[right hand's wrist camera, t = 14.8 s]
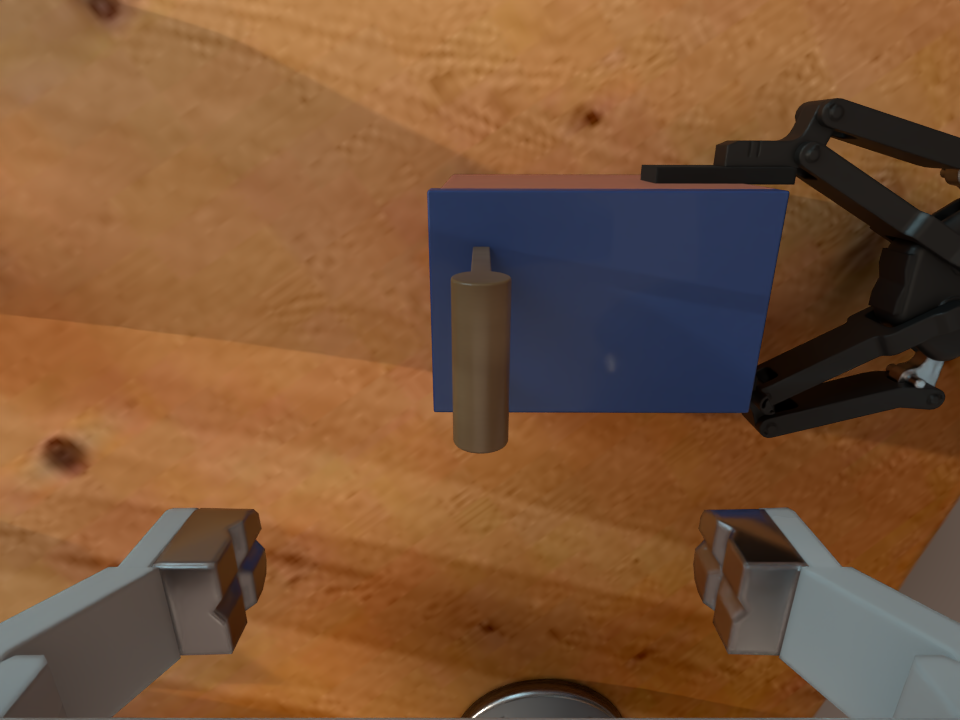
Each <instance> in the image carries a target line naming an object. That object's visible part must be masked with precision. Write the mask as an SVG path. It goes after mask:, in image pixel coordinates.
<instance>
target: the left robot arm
mask: <svg viewBox="0 0 960 720" xmlns="http://www.w3.org/2000/svg"><path fill="white" fill-rule="evenodd" d="M795 121H796V123H795V125H794V126H793V128H792V130H791V132H790V133H789V134H788V135H787V136H786V137H785V138H783V139H781V140H778V141H725V142H723V143H720V144H718V145H716V151H715V158H714V165H642V169H641V179H640V180H643V181H647V182H651V183H655V184H794V183H795V178H796V177H798V178H799V179H801V180H802V181H804V182H805V183H807V184H808V185H810V186H811V187H813V188H814V189H816V190H817V191H819V192H820V193H822V194H823V195H825V196H826V197H828V198H829V199H831V200H832V201H834V202H835V203H837V204H838V205H840V206H841V207H843V208H844V209H846V210H847V211H849V212H850V213H852V214H853V215H855V216H856V217H858V218H859V219H861V220H862V221H864V222H865V223H867V224H868V225H869V226H870V229H872V230H873V231H874V232H876V233H877V234H879V235H880V236H882V237H883V238H885V239H886V240H888V241H889V242H891V244H890V245H889V247H888V248H883V249H882V253H881V257H880V261H879V278H878V280H877V282H876V284H875V286H874V288H873V290H872V293H871V297H870V301H869V305H870V307H868V308H866V309H864V310H862V311H860V312H858V313H856V314H854V315H852V316H850V317H849V318H848V319H847V323H845V324H844V325H841V326H839V327H837V328H835V329H833V330H831V331H829V332H827V333H825V334H823V335H821V336H818V337H816V338H814V339H812V340H810V341H808V342H806V343H804V344H802V345H800V346H797V347H795V348H793V349H791V350H789V351H787V352H785V353H783V354H781V355H779V356H777V357H774V358H772V359H770V360H768V361H766V362H764V363H762V364H760V365H758V366H757V369H756V375H755V380H754V385H753V391H752V396H751V401H750V407H749V412H748V413H742V415H743V416H744V417H745V418H746V419H747V420H748V421H749V422H750V423H751V424H752V425H753V426H754V427H755V428H756V430H757V431H758V432H759V433H760V434H761V435H762V436H764V437H767V438H772V437H776V436H780V435H785V434H789V433H793V432H797V431H802V430H806V429H810V428H814V427H819V426H823V425H827V424H831V423H836V422H840V421H844V420H848V419H853V418H857V417H861V416H865V415H870V414H874V413H878V412H882V411H886V410H891V409H895V408H899V407H901V408H915V409H929V410H930V409H935V408H938V407H939V406H940V405H942V403H943V402H944V400H945V394H944V392H943V391H942V390H940V389H938V388H936V387H935V384H936V382H937V379H938V377H939V374H940V371H941V369H942V366H943V364H944V361H948V360H952V359H955V358H957V357H959V356H960V198H959V199H956V200H954V201H953V202H951V203H950V204H948V205H946V206H945V207H943V208H941V209H940V210H938V211H937V212H935V213H933V214H932V215H930V214H927V213H925V212H922V211H920V210H918V209H917V208H915V207H914V206H912V205H911V204H909V203H908V202H906V201H905V200H904V199H902V198H901V197H899V196H898V195H896V194H895V193H893V192H892V191H891V190H889V189H888V188H886V187H885V186H883V185H882V184H880V183H879V182H877V181H876V180H875V179H873V178H872V177H870V176H869V175H867V174H866V173H864V172H863V171H862V170H860V169H859V168H857V167H856V166H854V165H853V164H851V163H850V162H848V161H847V160H846V159H844V158H843V157H841V156H840V155H838V154H837V153H835V152H834V151H833V150H831V149H830V148H828V147H827V146H826V144H827V142H828V141H829V139H830V137H832V138H835V139H838V140H841V141H844V142H847V143H850V144H853V145H856V146H860V147H863V148H866V149H869V150H872V151H875V152H878V153H881V154H884V155H887V156H890V157H893V158H896V159H900V160H903V161H906V162H909V163H912V164H915V165H919V166H923V167H929V168H942V169H941V172H940V175H941V177H943V178H945V181H946V182H947V183H948V184H950V185H954V186H957V187H958V188H959V189H960V138H959V137H956V136H953V135H950V134H947V133H944V132H941V131H938V130H935V129H932V128H929V127H926V126H923V125H920V124H917V123H914V122H911V121H908V120H905V119H902V118H899V117H896V116H893V115H890V114H887V113H884V112H881V111H878V110H875V109H872V108H869V107H866V106H863V105H860V104H857V103H854V102H851V101H848V100H845V99H840V98H835V99H827V100H818V101H810V102H806V103H803V104H802V105H801V106H800V107H799V108H798V110H797V111H796V115H795ZM910 348H911V349H912V350H914V351H915V352H916V353H915V355H914V357H913V358H912V359H911V360H909V361H907V362H905V363H899V364H897V365H896V364H889V365H888V366H887V367H886V371H872V372H866V373H861V374H857V375H853V376H849V377H844V378H840V379H836V380H832V381H828V382H825V381H827V380H829V379H831V378H833V377H836V376H838V375H840V374H842V373H844V372H846V371H849V370H851V369H853V368H855V367H857V366H859V365H862V364H864V363H866V362H868V361H870V360H872V359H875V358H877V357H879V356H892V355H896V354H899V353H901V352H903V351H906V350H908V349H910ZM823 382H824V383H823ZM462 718H622V717H621V715H620V713H619V712H618V711H617V709H616V708H615V707H614V706H613V705H612V704H611V703H610V702H609V701H608V700H607V699H606V698H604V697H603V696H601V695H600V694H598V693H597V692H595V691H593V690H591V689H589V688H587V687H584V686H581V685H578V684H575V683H571V682H566V681H560V680H549V679H538V680H526V681H521V682H516V683H512V684H508V685H505V686H503V687H500V688H498V689H495V690H493V691H491V692H489V693H487V694H486V695H484V696H483V697H481V698H480V699H478V700H477V701H476V702H475V703H473V704H472V705H471V706H470V707H469V708H468V709H467V711H466V712H465V713H464V715H463V716H462Z"/></svg>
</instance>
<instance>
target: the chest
mask: <svg viewBox="0 0 960 720" xmlns="http://www.w3.org/2000/svg"><path fill="white" fill-rule="evenodd" d="M640 179H641V175H459V174H454V175H452V176H451V177H450V178H449V180H448V181H447V182H446V183H445V184H444V185H443V186H442V188H539V189H773V188H767V187H761V186H755V185H749V184H655V183H651V182H647V181H643V180H640Z"/></svg>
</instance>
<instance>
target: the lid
mask: <svg viewBox="0 0 960 720" xmlns="http://www.w3.org/2000/svg"><path fill="white" fill-rule="evenodd" d="M788 198H789V191H785V190H779V189H539V188H431V189H429V190H428V192H427V199H428V232H429V266H430V299H431V333H432V366H433V399H434V412H453V440H454V443H455V445H456V446H457V447H458V448H460V449H462V450H464V451H467V452H471V453H491V452H495V451H498V450H500V449H502V448H503V447H504V446H505V445H506V444H507V442H508V423H509V412H596V413H748V412H749V407H750V401H751V396H752V391H753V385H754V380H755V375H756V369H757V364H758V358H759V353H760V348H761V342H762V337H763V332H764V326H765V321H766V316H767V310H768V305H769V300H770V294H771V289H772V283H773V278H774V273H775V267H776V262H777V257H778V251H779V246H780V241H781V235H782V230H783V225H784V219H785V214H786V209H787V203H788Z"/></svg>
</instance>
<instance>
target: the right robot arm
mask: <svg viewBox="0 0 960 720" xmlns="http://www.w3.org/2000/svg"><path fill="white" fill-rule="evenodd" d="M261 529H262V528H261V524H260V519H259V514H258V513H257V512H256V511H255V510H254V509H225V508H200V509H199V508H172V509H169V510H166V511H165V513H164V514H163V515H162V516H161V517H160V518H159V520H158V521H157V522H156V523H155V524H154V525H153V526H152V528H151V529H150V530H149V531H148V532H147V533H146V535H145V536H144V537H143V538H142V539H141V540H140V542H139V543H138V544H137V545H136V546H135V547H134V549H133V550H132V551H131V552H130V553H129V554H128V556H127V557H126V558H125V559H124V560H123V561H122V562H121V564H120V565H119V566H118V567H108V568H106V569H104V570H102V571H100V572H98V573H96V574H94V575H92V576H90V577H89V578H87V579H85V580H83V581H81V582H79V583H77V584H75V585H73V586H71V587H69V588H67V589H65V590H63V591H61V592H60V593H58V594H56V595H54V596H52V597H50V598H48V599H46V600H44V601H42V602H40V603H38V604H36V605H34V606H32V607H31V608H29V609H27V610H25V611H23V612H21V613H19V614H17V615H15V616H13V617H11V618H9V619H7V620H5V621H3V622H2V623H0V720H960V623H958V622H956V621H954V620H952V619H950V618H949V617H947V616H945V615H943V614H941V613H939V612H937V611H935V610H933V609H931V608H929V607H927V606H925V605H924V604H921V603H920V602H918V601H916V600H914V599H912V598H910V597H908V596H906V595H904V594H902V593H900V592H898V591H897V590H895V589H893V588H891V587H889V586H887V585H885V584H883V583H881V582H879V581H877V580H875V579H873V578H871V577H870V576H868V575H866V574H864V573H862V572H860V571H858V570H856V569H854V568H852V567H842V566H841V565H840V564H839V562H838V561H837V560H836V559H835V558H834V557H833V556H832V554H831V553H830V552H829V551H828V550H827V549H826V547H825V546H824V545H823V544H822V543H821V542H820V540H819V539H818V538H817V537H816V536H815V535H814V533H813V532H812V531H811V530H810V529H809V528H808V527H807V525H806V524H805V523H804V522H803V521H802V520H801V518H800V517H799V516H798V515H797V514H796V513H795V511H793V510H791V509H789V508H760V509H728V510H704V511H703V513H702V515H701V517H700V523H699V528H698V529H699V531H700V532H701V534H702V536H703V538H704V541H703V542H702V543H701V544H700V545H699V546H698V547H697V548H696V549H695V554H694V562H693V567H694V579H695V583H696V587H697V590H698V593H699V595H700V597H701V599H702V601H703V603H704V604H706V605H707V606H709V607H710V608H711V609H713V610H714V611H715V612H714V618H713V624H714V626H715V628H716V630H717V632H718V634H719V636H720V638H721V640H722V642H723V644H724V646H725V648H726V650H727V652H728V654H751V655H780V656H779V658H780V659H781V660H782V661H784V662H785V663H786V664H787V665H788V666H789V667H791V668H792V669H793V670H794V671H795V672H796V673H798V674H799V675H800V676H801V677H802V678H803V679H805V680H806V681H807V682H808V683H809V684H810V685H812V686H813V687H814V688H815V689H816V690H817V691H819V692H820V693H821V694H822V695H823V696H824V697H826V698H827V699H828V700H829V701H830V702H831V703H833V704H834V705H835V706H836V707H837V708H838V709H840V710H841V711H842V712H843V713H844V714H845V715H847V716H848V717H849V718H111V717H112V716H114V715H115V714H116V713H117V712H118V711H119V710H121V709H122V708H123V707H124V706H125V705H127V704H128V703H129V702H130V701H131V700H132V699H134V698H135V697H136V696H137V695H138V694H139V693H141V692H142V691H143V690H144V689H145V688H146V687H148V686H149V685H150V684H151V683H152V682H153V681H155V680H156V679H157V678H158V677H159V676H160V675H162V674H163V673H164V672H165V671H166V670H167V669H169V668H170V667H171V666H172V665H173V664H174V663H176V662H177V661H178V660H179V659H180V658H181V657H180V655H208V654H232V653H233V651H234V649H235V647H236V644H237V642H238V640H239V638H240V636H241V634H242V632H243V630H244V628H245V626H246V624H247V617H246V612H245V611H246V610H247V609H249V608H250V607H252V606H253V605H254V604H256V603H257V601H258V599H259V597H260V595H261V593H262V590H263V587H264V582H265V577H266V563H267V560H266V553H265V549H264V548H263V547H262V546H261V545H260V544H259V543H258V542H257V541H256V538H257V536H258V534H259V532H260V531H261Z"/></svg>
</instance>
